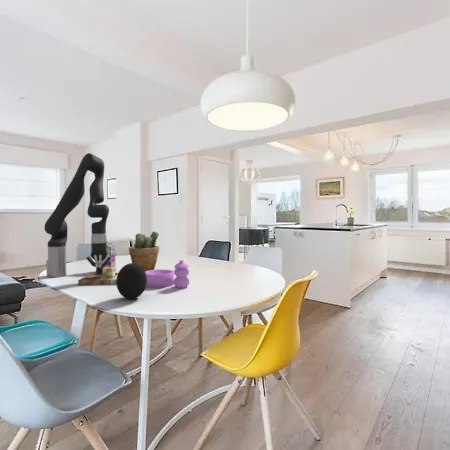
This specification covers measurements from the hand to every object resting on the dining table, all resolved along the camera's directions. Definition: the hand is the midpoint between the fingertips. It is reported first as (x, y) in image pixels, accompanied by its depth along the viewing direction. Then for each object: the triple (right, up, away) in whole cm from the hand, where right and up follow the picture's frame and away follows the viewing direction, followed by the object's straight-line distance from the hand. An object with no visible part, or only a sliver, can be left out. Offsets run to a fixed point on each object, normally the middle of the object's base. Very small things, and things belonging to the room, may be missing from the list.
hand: (99, 274), depth 162 cm
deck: (+4, -4, +1) cm, 6 cm away
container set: (+38, -4, -10) cm, 39 cm away
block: (+5, -1, +1) cm, 5 cm away
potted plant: (+17, -3, +26) cm, 31 cm away
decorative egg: (+28, -5, -34) cm, 44 cm away
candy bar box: (-7, -3, +27) cm, 28 cm away
